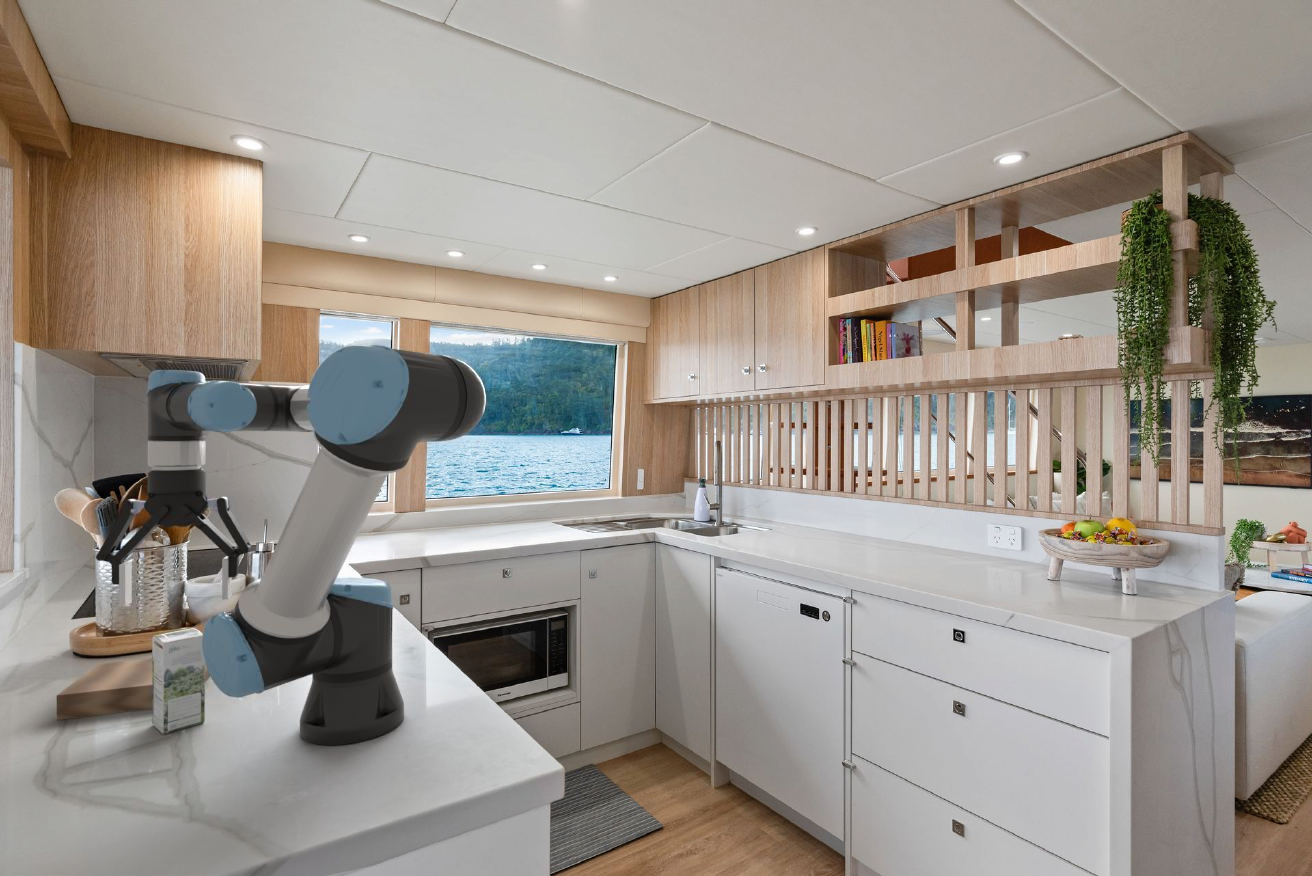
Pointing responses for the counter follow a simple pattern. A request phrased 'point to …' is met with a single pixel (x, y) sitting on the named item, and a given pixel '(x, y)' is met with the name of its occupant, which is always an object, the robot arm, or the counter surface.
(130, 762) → the counter surface
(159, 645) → the syrup box
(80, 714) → the block
